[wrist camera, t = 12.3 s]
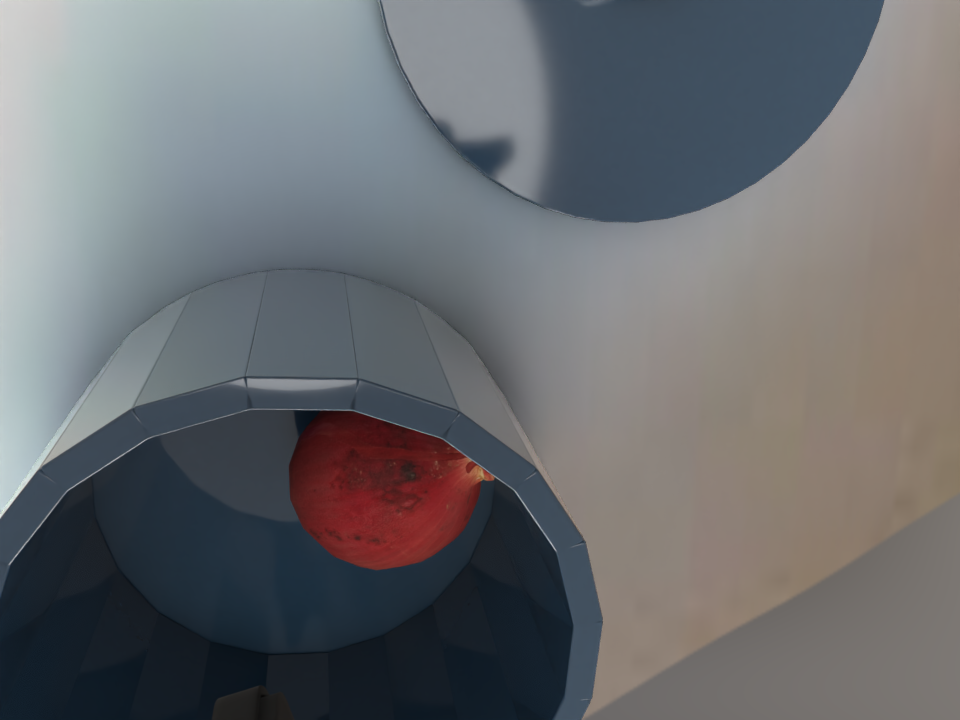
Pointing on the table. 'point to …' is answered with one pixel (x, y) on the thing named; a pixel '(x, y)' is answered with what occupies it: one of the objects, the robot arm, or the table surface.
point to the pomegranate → (380, 489)
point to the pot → (284, 529)
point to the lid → (628, 92)
